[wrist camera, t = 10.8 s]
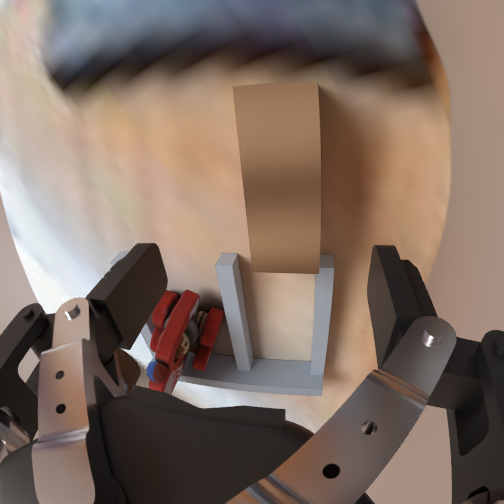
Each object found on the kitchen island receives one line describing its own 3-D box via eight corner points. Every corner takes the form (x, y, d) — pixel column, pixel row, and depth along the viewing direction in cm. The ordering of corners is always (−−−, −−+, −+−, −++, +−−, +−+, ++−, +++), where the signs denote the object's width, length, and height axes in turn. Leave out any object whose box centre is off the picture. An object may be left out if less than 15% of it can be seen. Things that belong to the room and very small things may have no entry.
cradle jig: (120, 251, 30) (100, 273, 26) (333, 254, 25) (335, 283, 22) (162, 353, 38) (151, 375, 35) (322, 368, 34) (321, 395, 30)
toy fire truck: (232, 292, 30) (201, 377, 21) (210, 358, 37) (185, 426, 28) (168, 268, 30) (119, 343, 21) (160, 338, 37) (127, 403, 28)
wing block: (252, 85, 19) (232, 86, 14) (315, 83, 18) (317, 82, 13) (265, 230, 25) (252, 272, 20) (318, 231, 24) (319, 273, 19)
